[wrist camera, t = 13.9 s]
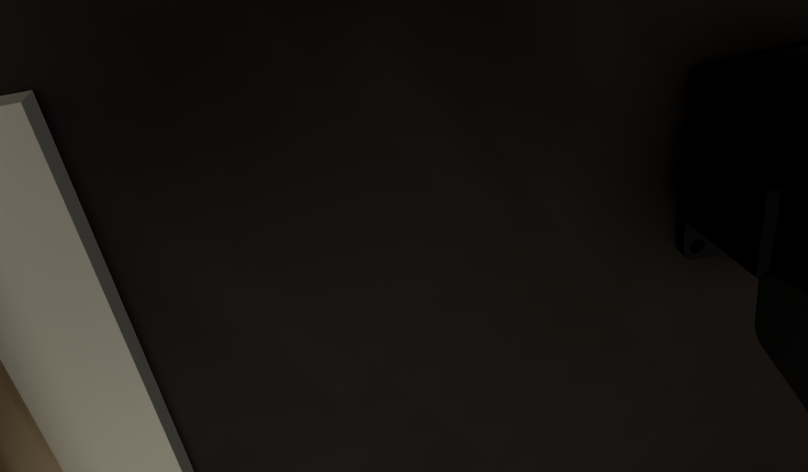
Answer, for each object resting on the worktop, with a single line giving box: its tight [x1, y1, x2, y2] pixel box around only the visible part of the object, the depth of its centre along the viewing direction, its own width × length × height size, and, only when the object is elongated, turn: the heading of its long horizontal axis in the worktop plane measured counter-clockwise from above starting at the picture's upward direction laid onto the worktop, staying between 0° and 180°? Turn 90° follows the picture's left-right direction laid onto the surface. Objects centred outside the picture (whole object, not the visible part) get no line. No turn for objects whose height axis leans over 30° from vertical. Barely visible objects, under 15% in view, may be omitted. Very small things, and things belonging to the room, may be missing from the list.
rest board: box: [0, 90, 194, 472], centre depth 21 cm, size 9×22×1 cm, turn 8°
